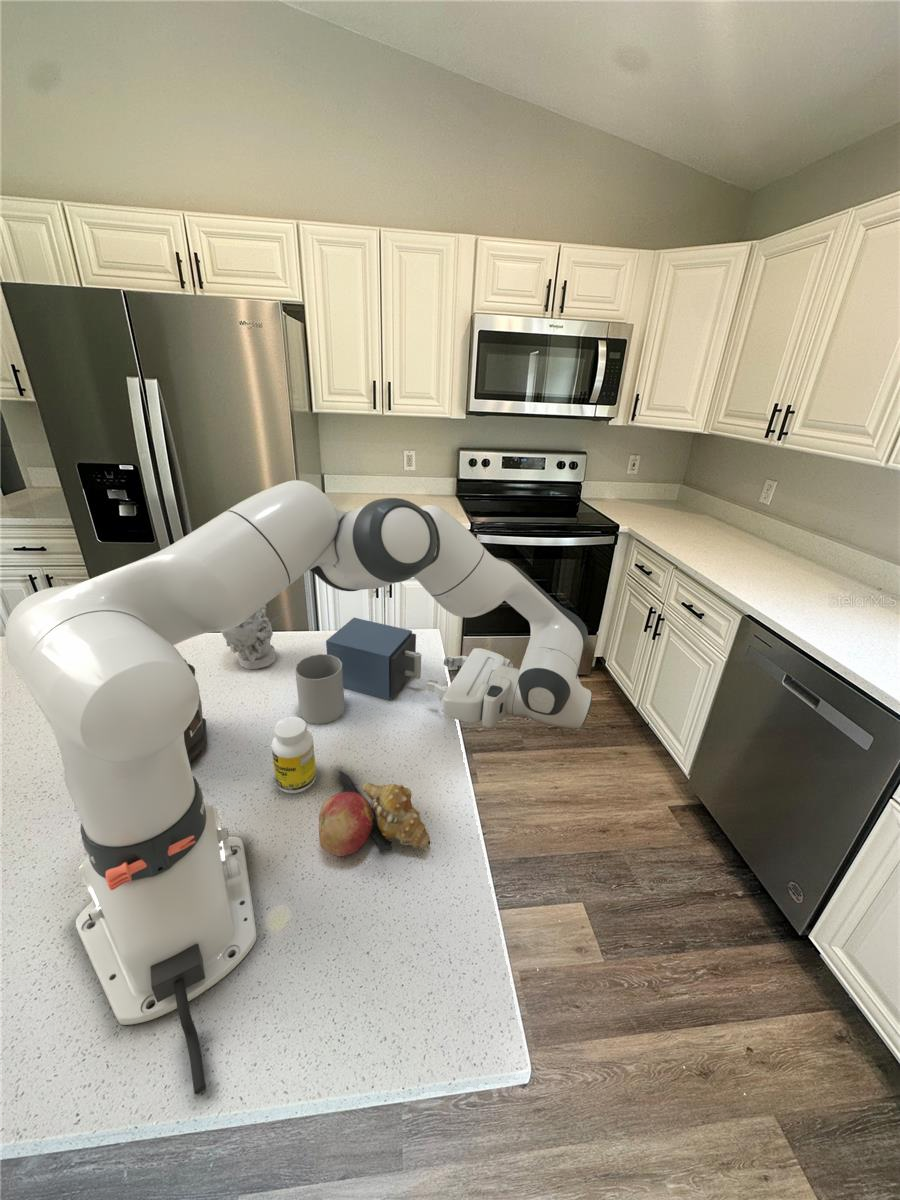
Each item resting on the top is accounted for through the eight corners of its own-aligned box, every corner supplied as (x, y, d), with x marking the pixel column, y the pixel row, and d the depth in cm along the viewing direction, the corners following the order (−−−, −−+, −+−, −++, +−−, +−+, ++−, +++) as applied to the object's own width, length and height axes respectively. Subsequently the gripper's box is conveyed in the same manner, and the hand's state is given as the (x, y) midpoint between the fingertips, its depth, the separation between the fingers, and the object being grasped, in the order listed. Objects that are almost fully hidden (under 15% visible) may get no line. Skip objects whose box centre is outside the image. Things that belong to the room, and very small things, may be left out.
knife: (399, 843, 68) (380, 852, 66) (398, 848, 68) (379, 856, 67) (346, 765, 81) (329, 770, 80) (346, 769, 82) (329, 774, 80)
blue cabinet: (411, 672, 108) (412, 630, 103) (389, 700, 98) (388, 656, 94) (355, 657, 112) (353, 617, 107) (329, 683, 102) (325, 640, 98)
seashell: (379, 839, 74) (441, 837, 72) (354, 859, 67) (422, 857, 64) (374, 776, 76) (434, 772, 73) (349, 788, 68) (415, 784, 66)
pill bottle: (268, 785, 77) (259, 731, 73) (296, 760, 82) (289, 708, 78) (297, 801, 75) (290, 746, 70) (324, 774, 80) (320, 721, 75)
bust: (291, 662, 106) (267, 601, 101) (241, 683, 102) (214, 620, 96) (282, 648, 115) (259, 591, 110) (236, 666, 111) (211, 608, 106)
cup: (349, 698, 98) (347, 656, 94) (337, 725, 91) (334, 681, 86) (308, 694, 99) (304, 652, 94) (293, 721, 91) (287, 676, 87)
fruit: (336, 772, 68) (345, 820, 62) (377, 787, 73) (389, 833, 66) (302, 808, 70) (307, 859, 63) (344, 821, 74) (353, 870, 67)
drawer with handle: (429, 673, 106) (431, 637, 102) (409, 701, 97) (410, 663, 93) (360, 656, 111) (359, 621, 107) (335, 681, 102) (332, 643, 98)
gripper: (517, 649, 101) (454, 634, 105) (490, 705, 84) (416, 686, 88) (514, 674, 104) (453, 659, 108) (487, 734, 87) (416, 714, 91)
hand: (436, 671), depth 98 cm, fingers open, 8 cm apart
